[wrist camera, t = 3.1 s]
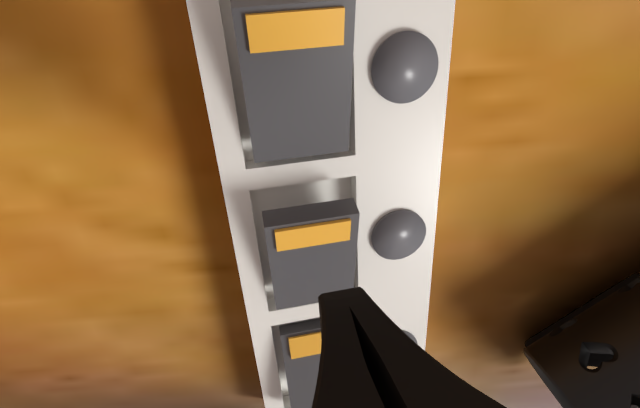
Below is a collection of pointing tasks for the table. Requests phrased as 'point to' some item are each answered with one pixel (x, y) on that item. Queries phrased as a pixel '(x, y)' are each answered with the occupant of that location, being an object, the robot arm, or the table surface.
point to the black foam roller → (593, 351)
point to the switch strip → (340, 166)
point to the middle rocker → (311, 250)
